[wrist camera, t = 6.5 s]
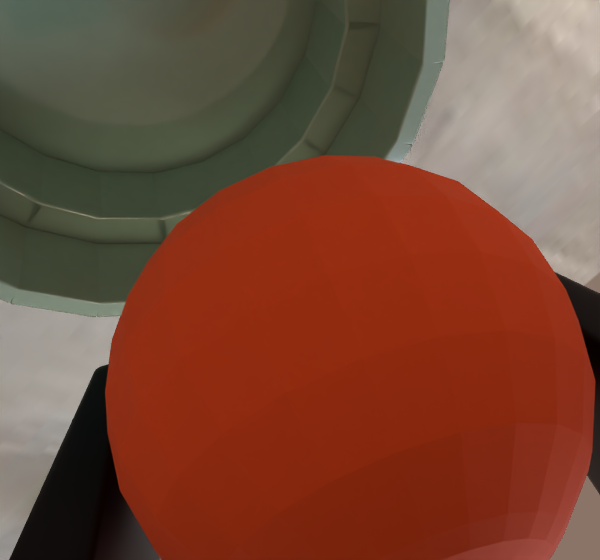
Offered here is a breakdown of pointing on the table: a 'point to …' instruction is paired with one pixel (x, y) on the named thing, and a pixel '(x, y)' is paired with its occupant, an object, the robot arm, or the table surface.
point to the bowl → (182, 119)
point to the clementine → (349, 375)
